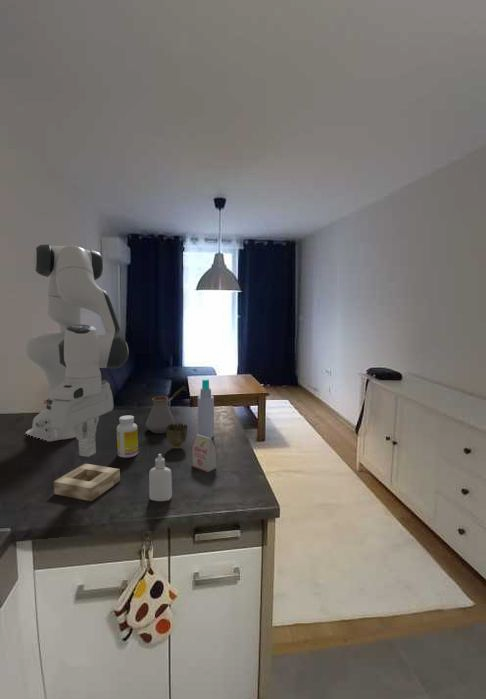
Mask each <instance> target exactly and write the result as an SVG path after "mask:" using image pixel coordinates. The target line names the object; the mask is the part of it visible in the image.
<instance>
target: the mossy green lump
mask: <svg viewBox="0 0 486 699" xmlns="http://www.w3.org/2000/svg"><path fill="white" fill-rule="evenodd" d="M165 433H166V434H165V435H166V439H167V442H168V443H169V444H170V445H171V449H173V450H175V451H176V450H182V448H183V444H184V443H186V440H187V435H188V434H187V433H188V424H183V423H180V422H179V423H175V425H173V424H170V425H167V428H166V432H165Z"/></svg>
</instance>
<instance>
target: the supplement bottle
mask: <svg viewBox="0 0 486 699" xmlns="http://www.w3.org/2000/svg"><path fill="white" fill-rule="evenodd" d="M118 421H119V424H117V427H116V443H117V455H118V457H120V458H125V459H127V458H132V457H135V456H136V455H138V453H139V438H138V436H139V435H138V434H139V433H138V424H137V423H134V421H135V416H133V415H122V416H120V417H119V418H118Z"/></svg>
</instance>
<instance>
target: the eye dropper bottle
mask: <svg viewBox="0 0 486 699" xmlns="http://www.w3.org/2000/svg"><path fill="white" fill-rule="evenodd" d="M154 463H155V464H154V467H152V468H151V469H150V470H149V472H148V488H149V489H148V490H149V500H151V501H155V502H167V501H170V500H171V499H172V496H173V481H172V480H173V479H172V469H171V468H169V467H166V459H165V458H164V457H163V456H162V453H158V456H157V457H156V458H155V460H154Z"/></svg>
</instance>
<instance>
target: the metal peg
mask: <svg viewBox="0 0 486 699" xmlns="http://www.w3.org/2000/svg"><path fill="white" fill-rule="evenodd" d="M81 429H82V431H83V432H85V438H83V439H81V440H78V450H79V451H78V456H81V457H86V458H87V457H91V456H93V455H95V454H96V453H97V446H96V445H97V444H96V442H97V441H96V433H95V422H94V418H93V419H91V420H89V421H86V422H84V423H82V427H81Z"/></svg>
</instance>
